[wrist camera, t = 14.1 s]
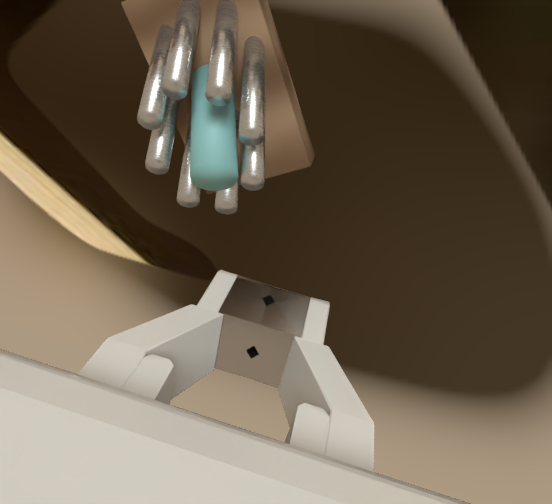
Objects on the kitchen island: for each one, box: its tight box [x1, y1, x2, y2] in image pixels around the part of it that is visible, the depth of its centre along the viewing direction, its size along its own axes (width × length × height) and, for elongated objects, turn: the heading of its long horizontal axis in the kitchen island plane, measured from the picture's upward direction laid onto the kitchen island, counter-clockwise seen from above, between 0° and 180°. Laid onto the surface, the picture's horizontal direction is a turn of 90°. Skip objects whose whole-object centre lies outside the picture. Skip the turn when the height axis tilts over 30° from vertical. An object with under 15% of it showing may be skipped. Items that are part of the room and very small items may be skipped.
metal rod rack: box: [137, 0, 266, 214], centre depth 30 cm, size 15×9×11 cm, turn 19°
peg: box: [190, 64, 238, 191], centre depth 29 cm, size 3×3×9 cm
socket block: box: [121, 0, 314, 195], centre depth 34 cm, size 16×10×3 cm, turn 19°
